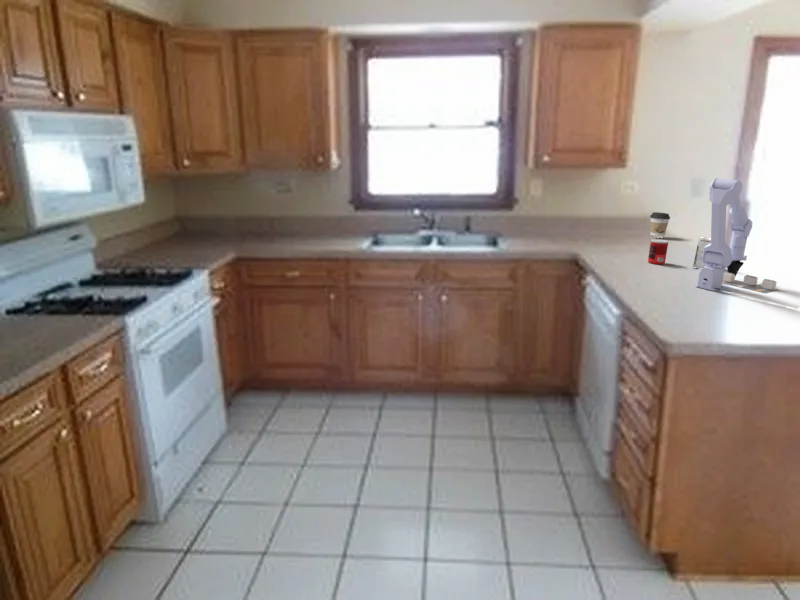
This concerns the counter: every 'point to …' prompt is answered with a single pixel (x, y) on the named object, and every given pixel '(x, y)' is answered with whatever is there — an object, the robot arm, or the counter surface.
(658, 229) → the coffee cup
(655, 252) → the canned food
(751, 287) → the switch panel
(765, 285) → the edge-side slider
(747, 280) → the middle slider
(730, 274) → the block
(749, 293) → the counter surface
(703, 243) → the syrup box
